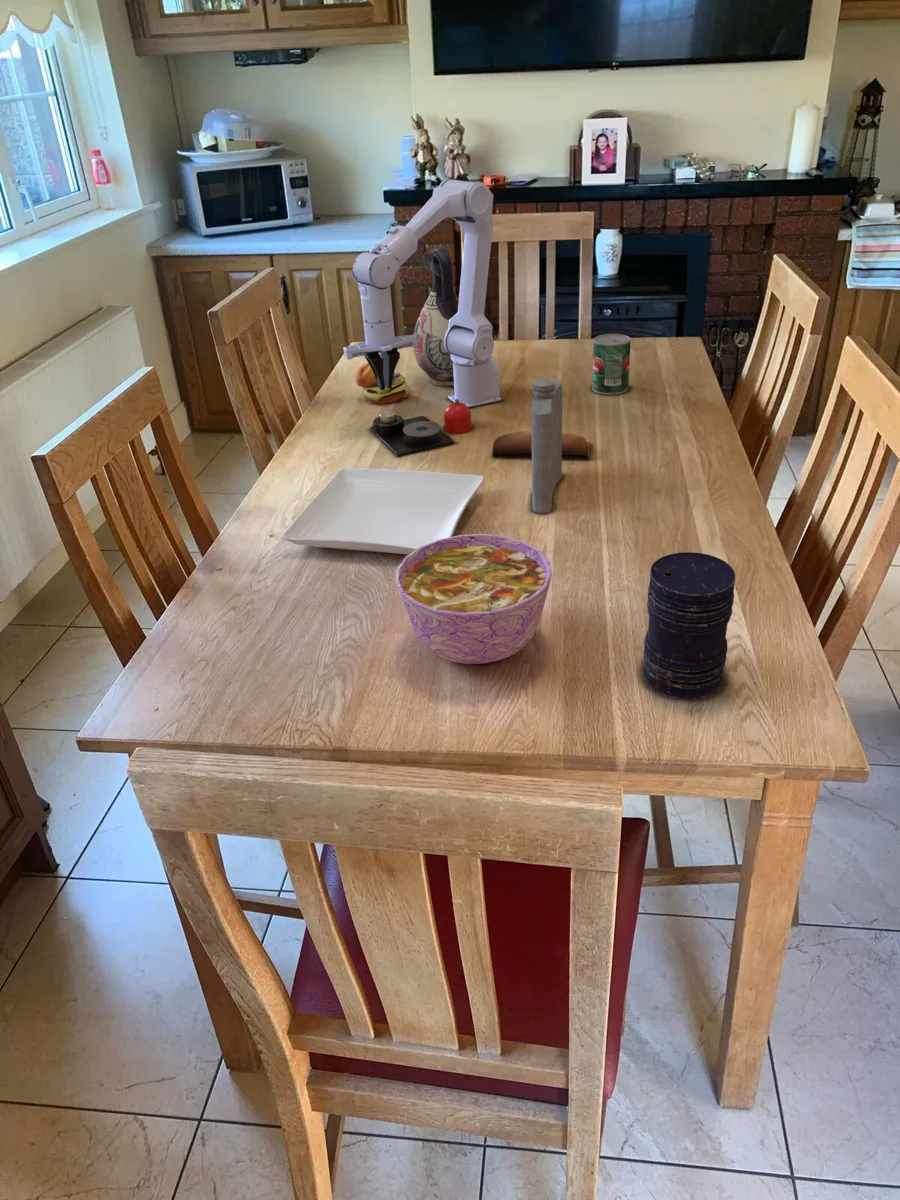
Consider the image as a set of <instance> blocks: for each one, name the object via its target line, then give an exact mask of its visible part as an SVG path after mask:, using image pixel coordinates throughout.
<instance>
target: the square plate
mask: <svg viewBox="0 0 900 1200" xmlns="http://www.w3.org/2000/svg"><path fill="white" fill-rule="evenodd" d="M484 481H485V476H484V475H481V474H468V473H455V472H442V471H428V470H427V471H426V470H409V469H390V468H367V467H365V468H363V467H342V468H339V470H338V471H337V472H336V473H335V474H334V475H333V476H332V477H331V478H330V479H329V481H328V482H327V483H326V484H325V485H324V486H323V487H322V488H321V490H320V491H319V492H317V494H316V495H315V496H314V497H313V499H312V500H310V502H309V503H308V504H307V505H306V506H305V508H303V510H302V511H301V512H300V513H299V514H298V515H297V516H296V518H294V520H293V521H292V522H291V524H289V525H288V527H287V528H286V529H285V530H284V532H283V533H282V535H281V539H283V540H285V541H288V542H290V543H292V544H295V545H299V546H304V547H312V548H313V547H316V548H327V549H333V550H334V549H335V550H346V551H360V552H371V553H375V552H376V553H385V554H397V555H409V554H410V553H412V552H413V551H415V550H416V549H418V548H419V547H421V546H424V545H426V544H429V543H431V542H434V541H436V540H439V539H444V538H449V537H453V535H454V532H455V530H456V528H457V526H458V523H459V521H460V519H461V517H462V515H463V513H464V512H465V509H466V508H467V506H468V504H469V503H470V502H471V500H472V499H473V498H474V496H475V495H476V493H477V491H478V490H479V489H480V487H481V486H482V484H483V483H484Z"/></svg>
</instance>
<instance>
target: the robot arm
mask: <svg viewBox="0 0 900 1200" xmlns="http://www.w3.org/2000/svg"><path fill="white" fill-rule="evenodd" d="M493 205H494V194H493V192H492V191H491V190H490V189H489V187H488V186H487V185H486V184H485V183H484V182H481V181H465V180H457V179H452V178H447V179H444V180H442V181H441V182H440V183H439V185H438V186H436V187H435V188H434V189H433V191H432V196H431V197H430V198H429V199H428V200H427V201H426V203H425V204H424V205H423V206H422V207H421V208H420V209H419V210H418V212H416V214H415V215H414V216H413V217H412V218H411V219H410V220H409V221H408V223H406V225H405V226H403V225H396V226H391V227H390V228H389V229H387V232H388V233H387V234H386V235H384V237H383V238H382V239H381V240H379V242H378V243H374V244H373V245H372V246H371V249H370V250H369V252H368V251H366V252H362V253H360V254H358V256H357V257H356V258H355V259H354V262H353V265H352V269H351V270H350V274H351V277H352V279H353V281H354V282H355V283H356V284H357V289H358V292H359V294H360V302H361V312H362V313H361V314H362V323H363V330H364V340H365V341H361V342H358V343H355V344H351V345H348V346H344V347H343V357H344V358H345V359H346V360H352V359H353V358H358V357H363V356H364V359H365V360H366V363H369V365H370V367H371V369H372V371H373V373H374V375H375V378H376V381H377V384H378V388H379V389H380V390H385V386H386V387H387V388H388V389H391V388H392V381H393V375H394V373H395V371H396V368H397V366H398V364H399V361H400V358H401V353H400V352H399V351H398V350H402V349H406V348H407V349H408V348H413V347H417V346H418V345H417V337H416V336H415V335H414V334H408V335H407V334H406V335H397V336H396V335H395V325H394V314H393V313H394V312H393V303H392V302H393V300H392V291H391V290H392V289H391V285H392V284H393V283H394V281H395V278H396V276H397V275H396V274H397V272H398V271H399V268H400V267H402V265H403V264H404V263H406V262H407V260H408V259H409V258H410V257H412V256H413V254H415V253H416V251H417V250H418V242H419V240H420V239H422V238H423V237H424V236H425V235H426V234H427V233H429V232H430V231H431V230H433V229H434V228H435V227H436V226H437V225H439V223H441V222H442V221H443V220H444V219H446V218H451V219H452V220H454V221H455V222H456V223H457V224H458V225H459V227H460V228H461V229H462V230H463V232H464V241H463V249H462V261H461V273H460V281H459V283H460V284H459V294H458V298H459V305H458V313H457V314H456V315H454V316H453V317H452V318H451V319H450V320H449V327H448V330H447V332H446V335H445V338H444V346H445V349H446V351H447V352H448V353H449V354H450V357H451V360H453V374H454V386H453V387H454V390H453V391H454V393H453V394H449V395H448V396H447V399H449V400H450V401H451V402H452V403H454V402H455V399H458V400H459V402H461V403H463V404H465V405H466V406H467V407H468V408H472V407H477V406H482V405H487V404H491V403H496V402H500V401H502V397H501V388H500V385H501V383H500V368H499V364H498V362H497V360H496V358H495V357H494V356H492V354H493V352H494V349H495V343H494V341H495V340H494V338H493V337H494V336H493V328H494V327H493V325H492V324H491V321H490V320H489V319H488V318H487V317H486V316H485V307H486V299H487V288H488V280H489V279H488V278H489V270H490V258H491V249H492V248H491V247H492V239H493V228H494V221H493V220H494V219H493V215H492V214H493ZM383 370H384V376H383Z"/></svg>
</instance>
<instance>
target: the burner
mask: <svg viewBox="0 0 900 1200" xmlns="http://www.w3.org/2000/svg"><path fill="white" fill-rule="evenodd" d="M429 421H430V420H429ZM429 421H421V422H414V423H411V424H408V425H406V426H405V427H404V428H403V433H404V434H405V435H407V436H411V437H427V436H432V435H435V434H437V433H438V432H439V431H440V430H441V429H442V427H441V425H440V424H439V423H437V422H434V421H430V422H429ZM441 431H442V430H441Z"/></svg>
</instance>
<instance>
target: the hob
mask: <svg viewBox="0 0 900 1200" xmlns="http://www.w3.org/2000/svg"><path fill="white" fill-rule="evenodd" d="M421 421H429V422H431V420H429V419H428V418H427V417H426V416H424V415H420V416H414V417H411V418H406V419H404V418H403V417H402V416H401V415H399V414H396V422H394V423H391V424H383V423H380V415H379V416H377V417H376V418H374V419H373V420H372V426H369V430H370V432H371V433H373V434H374V435H375V436H376V437H377V438H378V439H379V441H381V442H382V443H383V444H384V445H385V447H387V448H388V449H389V450H390V451H391V452H392V454H394V455H395V456H396V457H403V456H407V455H411V454H417V453H420V452H425V451H428V450H433V449H438V448H442V447H447V446H450V445H455V441H454V439H452V438H450V436H448V435H447V434H446V433H445V432H444V431H442V430H440V431H439V432H438V433H437V434H435V435H432V436H427V437H411V436H407V435H405V434H404V433H403V428H404V427H405V426H406V425H408V424H411V423H414V422H421Z"/></svg>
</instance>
